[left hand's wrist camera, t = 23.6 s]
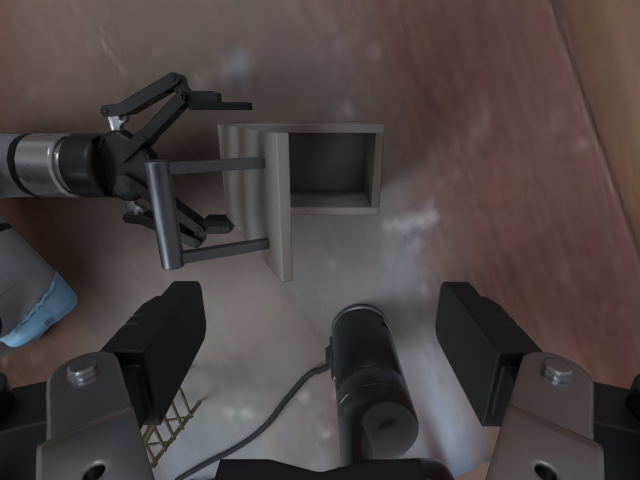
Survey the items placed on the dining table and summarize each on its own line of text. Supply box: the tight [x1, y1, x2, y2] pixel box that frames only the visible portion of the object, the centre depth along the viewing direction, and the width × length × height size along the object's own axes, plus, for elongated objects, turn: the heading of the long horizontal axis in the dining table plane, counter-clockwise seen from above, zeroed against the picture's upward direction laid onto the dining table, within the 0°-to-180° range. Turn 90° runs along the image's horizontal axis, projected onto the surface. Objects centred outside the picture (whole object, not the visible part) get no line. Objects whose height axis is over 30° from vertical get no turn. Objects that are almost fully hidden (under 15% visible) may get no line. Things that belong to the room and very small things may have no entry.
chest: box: [227, 121, 385, 215], centre depth 42 cm, size 17×10×10 cm, turn 90°
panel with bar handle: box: [144, 124, 293, 283], centre depth 28 cm, size 18×10×8 cm
